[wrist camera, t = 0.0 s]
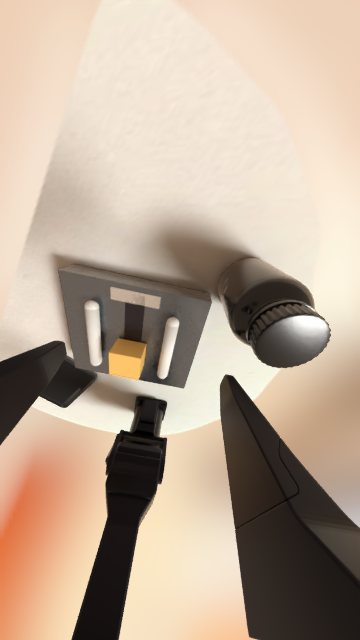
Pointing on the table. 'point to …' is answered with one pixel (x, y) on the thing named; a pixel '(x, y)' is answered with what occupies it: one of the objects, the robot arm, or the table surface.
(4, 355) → the table surface
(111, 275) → the panel
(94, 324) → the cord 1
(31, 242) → the table surface
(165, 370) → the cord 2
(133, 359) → the block
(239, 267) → the supplement bottle
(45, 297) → the table surface
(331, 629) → the robot arm
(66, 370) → the phone
